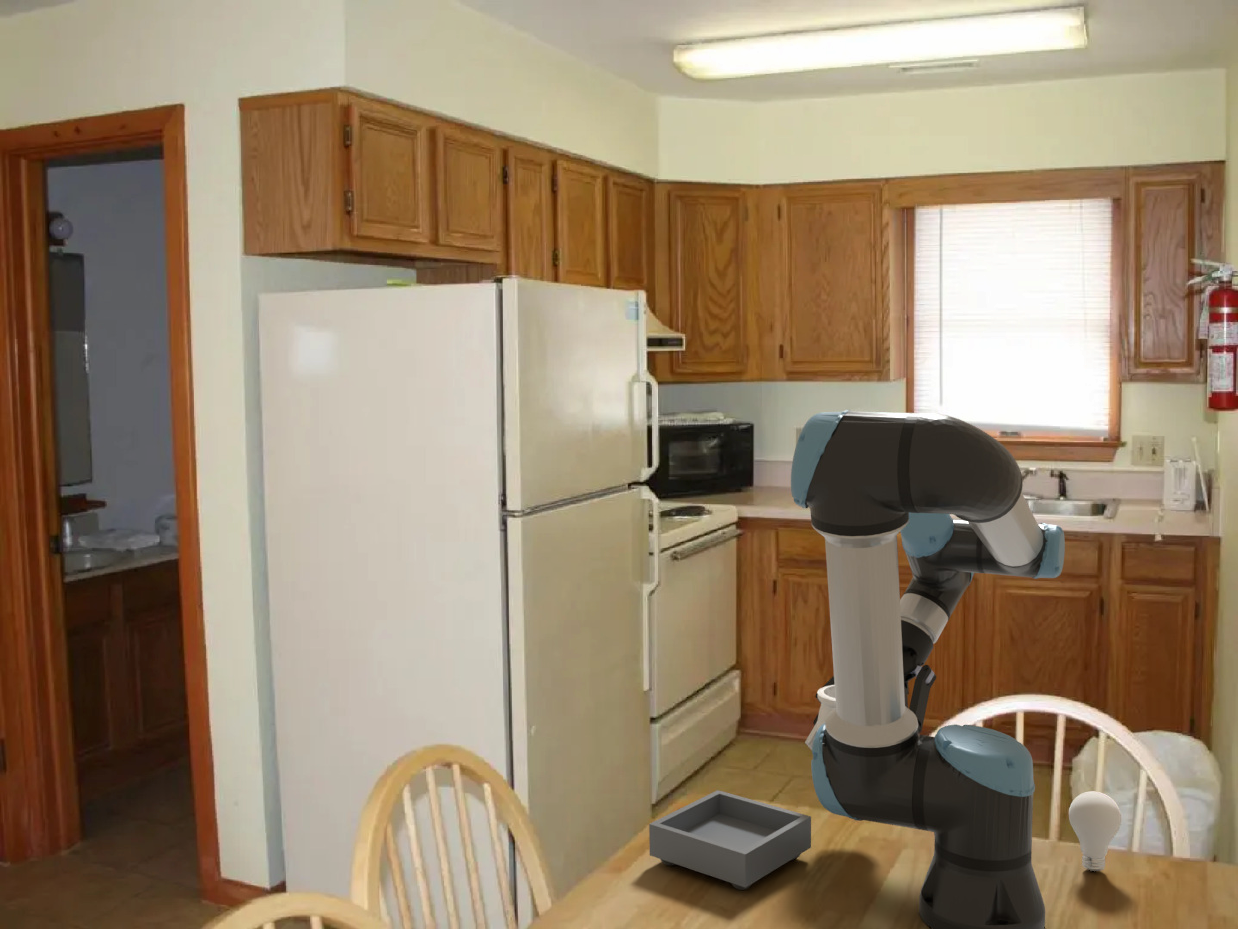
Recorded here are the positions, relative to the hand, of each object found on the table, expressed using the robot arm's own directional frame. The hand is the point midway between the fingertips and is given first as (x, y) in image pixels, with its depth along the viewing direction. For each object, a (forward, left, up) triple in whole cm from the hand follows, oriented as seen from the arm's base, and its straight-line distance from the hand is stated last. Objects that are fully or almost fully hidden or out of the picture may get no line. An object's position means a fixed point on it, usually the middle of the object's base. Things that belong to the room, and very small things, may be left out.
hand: (841, 758), depth 178 cm
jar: (0, -3, -6) cm, 7 cm away
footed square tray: (+9, +14, -13) cm, 21 cm away
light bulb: (-31, -14, -13) cm, 36 cm away
